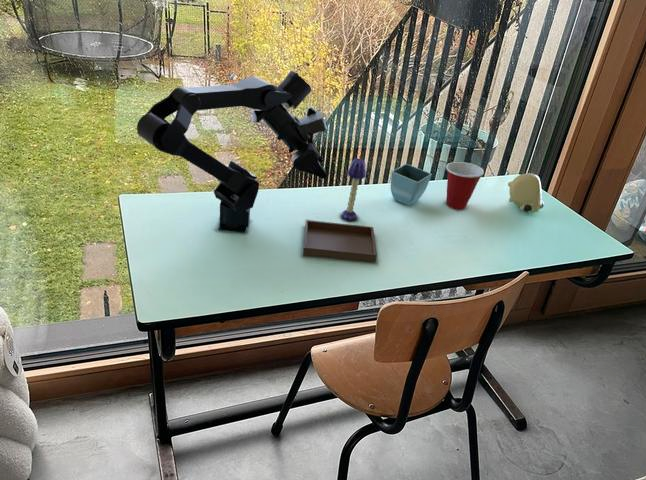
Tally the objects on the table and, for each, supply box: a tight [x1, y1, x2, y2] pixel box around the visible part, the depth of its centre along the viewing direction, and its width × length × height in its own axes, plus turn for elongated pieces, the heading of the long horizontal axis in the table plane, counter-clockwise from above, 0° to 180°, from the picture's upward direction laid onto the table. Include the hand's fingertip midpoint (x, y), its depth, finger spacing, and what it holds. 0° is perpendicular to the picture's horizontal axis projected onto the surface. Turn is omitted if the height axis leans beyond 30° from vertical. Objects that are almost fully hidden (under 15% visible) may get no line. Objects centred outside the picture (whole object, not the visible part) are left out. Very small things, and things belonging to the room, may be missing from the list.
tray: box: [302, 219, 378, 264], centre depth 138 cm, size 17×13×2 cm
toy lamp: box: [340, 157, 367, 222], centre depth 146 cm, size 5×5×17 cm
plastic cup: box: [445, 161, 485, 211], centre depth 164 cm, size 11×11×12 cm
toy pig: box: [507, 173, 545, 214], centre depth 171 cm, size 10×12×11 cm
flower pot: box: [390, 163, 432, 207], centre depth 162 cm, size 9×9×9 cm
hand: (323, 169), depth 141 cm, fingers open, 9 cm apart
